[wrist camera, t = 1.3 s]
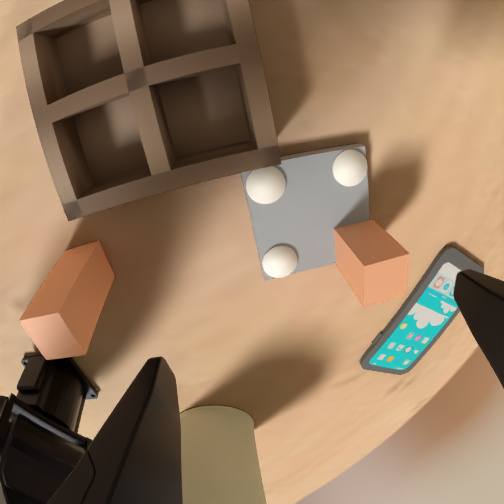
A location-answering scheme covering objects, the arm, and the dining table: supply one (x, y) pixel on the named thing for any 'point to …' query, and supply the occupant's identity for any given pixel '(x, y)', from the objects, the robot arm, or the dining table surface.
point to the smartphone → (419, 316)
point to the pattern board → (324, 222)
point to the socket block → (145, 97)
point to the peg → (69, 302)
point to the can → (219, 457)
